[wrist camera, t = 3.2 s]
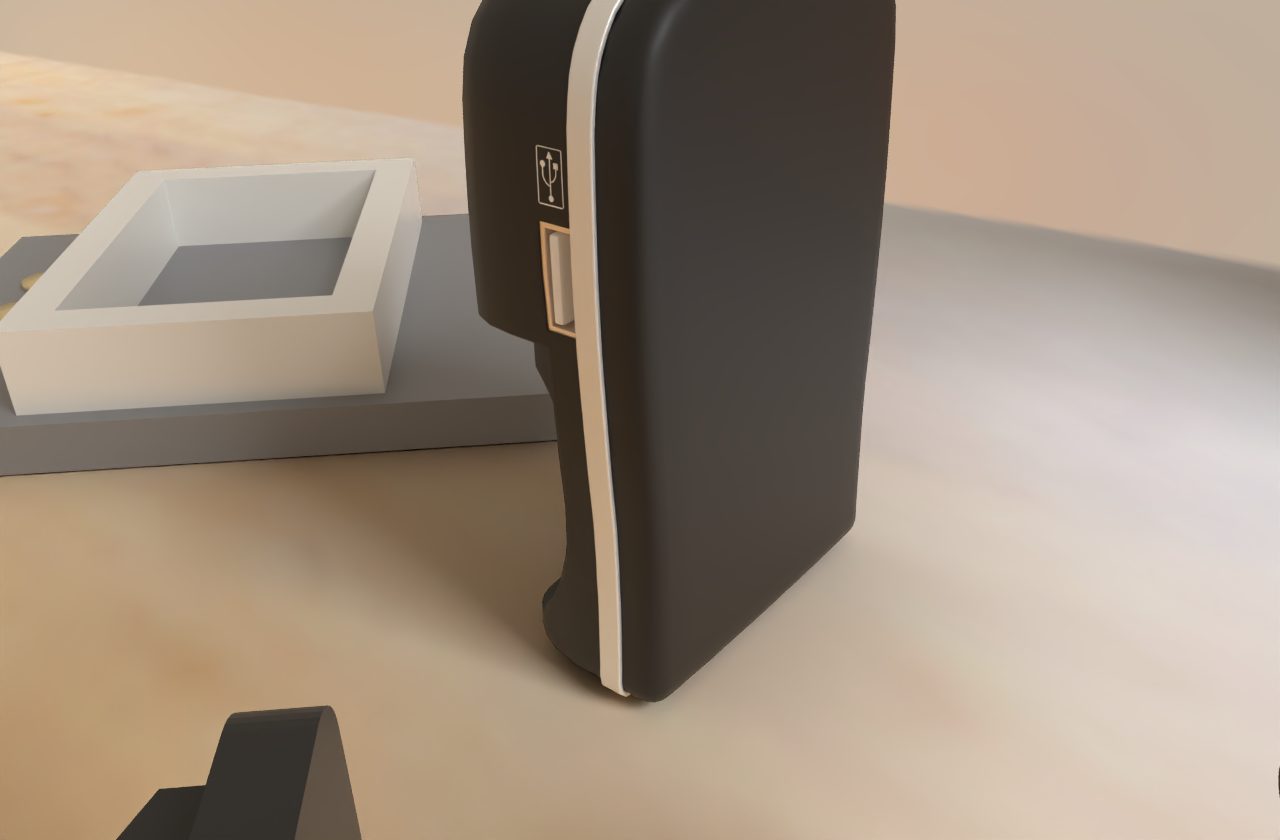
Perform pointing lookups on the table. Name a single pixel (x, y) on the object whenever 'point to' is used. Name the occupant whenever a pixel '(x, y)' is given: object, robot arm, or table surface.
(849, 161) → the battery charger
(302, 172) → the charging dock
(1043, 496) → the table surface
